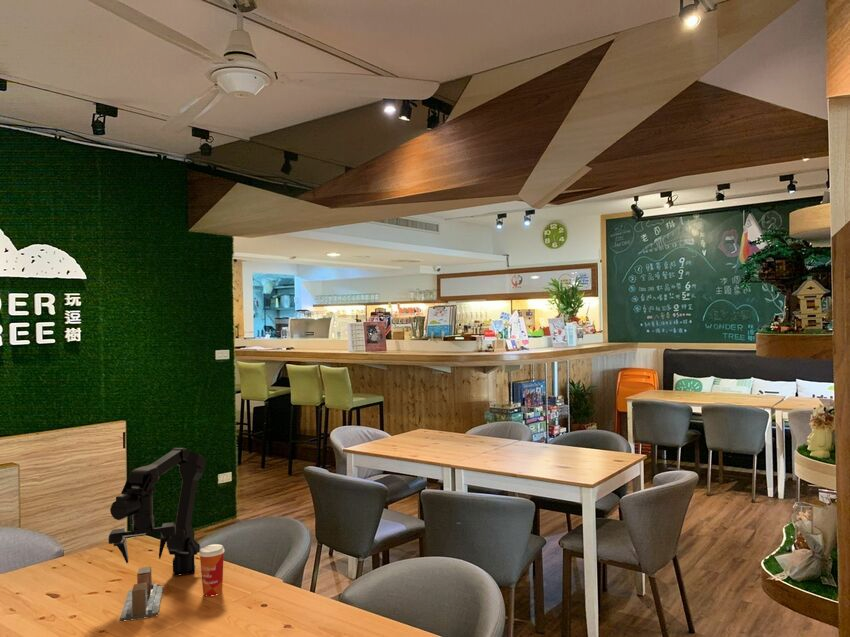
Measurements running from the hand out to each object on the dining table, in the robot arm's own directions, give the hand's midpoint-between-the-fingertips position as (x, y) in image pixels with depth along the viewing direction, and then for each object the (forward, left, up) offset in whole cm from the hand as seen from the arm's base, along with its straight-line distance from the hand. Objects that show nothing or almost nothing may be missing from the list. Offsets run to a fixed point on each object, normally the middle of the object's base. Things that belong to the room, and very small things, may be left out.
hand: (143, 560), depth 191 cm
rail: (0, +6, -11) cm, 13 cm away
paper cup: (-20, +6, -11) cm, 24 cm away
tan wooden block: (0, 0, -10) cm, 10 cm away
